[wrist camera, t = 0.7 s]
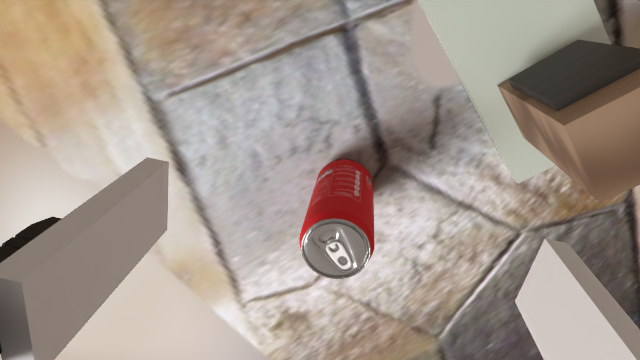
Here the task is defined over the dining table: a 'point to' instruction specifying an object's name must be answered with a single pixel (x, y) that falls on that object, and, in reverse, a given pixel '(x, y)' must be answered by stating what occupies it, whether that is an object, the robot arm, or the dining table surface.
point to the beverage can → (339, 221)
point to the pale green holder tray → (508, 57)
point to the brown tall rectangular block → (583, 113)
